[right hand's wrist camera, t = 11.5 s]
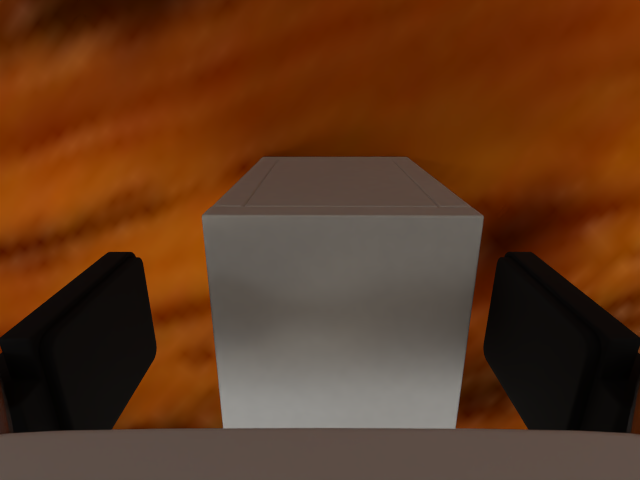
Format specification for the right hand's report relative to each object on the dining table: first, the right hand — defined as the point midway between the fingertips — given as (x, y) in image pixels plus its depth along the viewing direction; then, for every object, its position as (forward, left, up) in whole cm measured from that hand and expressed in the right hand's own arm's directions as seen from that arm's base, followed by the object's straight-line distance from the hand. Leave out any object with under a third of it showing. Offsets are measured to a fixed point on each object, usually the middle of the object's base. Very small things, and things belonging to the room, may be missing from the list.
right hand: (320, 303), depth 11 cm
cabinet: (+4, +4, -9) cm, 10 cm away
